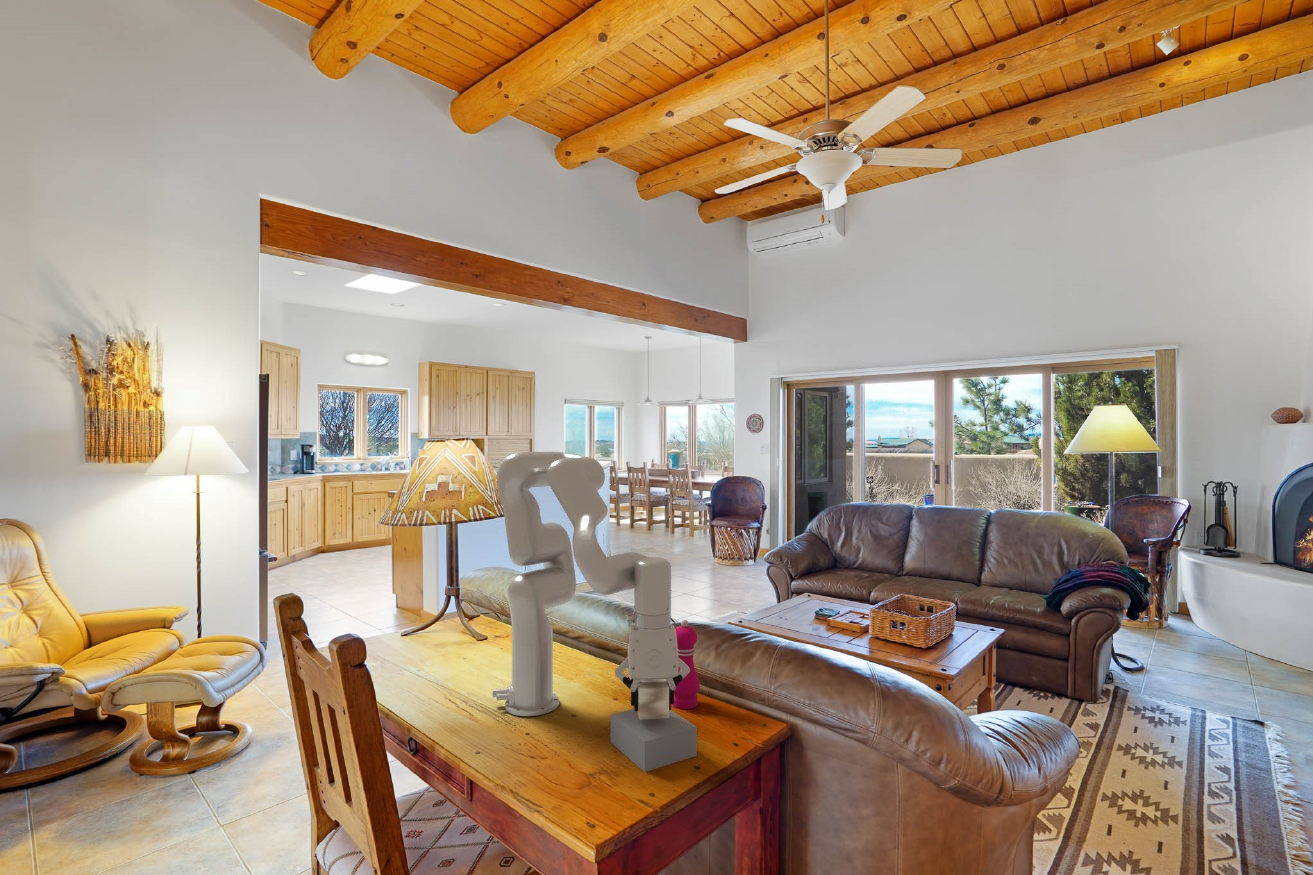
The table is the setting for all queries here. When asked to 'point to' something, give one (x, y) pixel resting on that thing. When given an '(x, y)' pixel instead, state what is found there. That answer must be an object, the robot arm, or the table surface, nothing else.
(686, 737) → the slate block
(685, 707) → the pepper mill
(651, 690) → the cream block
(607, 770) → the table surface
